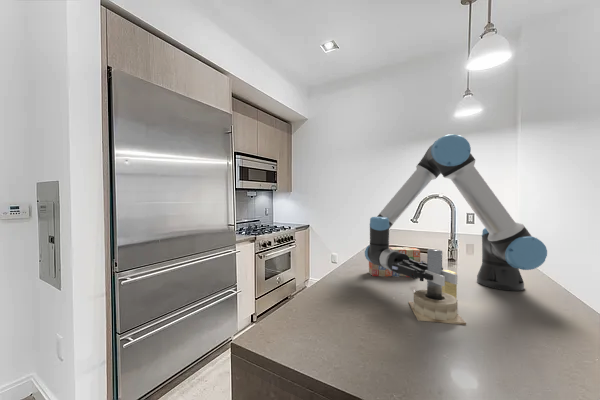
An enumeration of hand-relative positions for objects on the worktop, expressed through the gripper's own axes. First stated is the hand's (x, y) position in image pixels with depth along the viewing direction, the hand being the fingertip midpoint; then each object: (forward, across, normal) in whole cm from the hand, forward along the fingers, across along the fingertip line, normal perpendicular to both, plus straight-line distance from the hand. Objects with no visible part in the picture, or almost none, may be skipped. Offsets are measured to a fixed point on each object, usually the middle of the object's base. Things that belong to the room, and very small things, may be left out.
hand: (449, 280), depth 73 cm
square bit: (-11, -12, -12) cm, 20 cm away
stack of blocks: (-43, -15, -12) cm, 47 cm away
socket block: (-5, 0, -12) cm, 13 cm away
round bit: (-5, 0, -8) cm, 10 cm away
